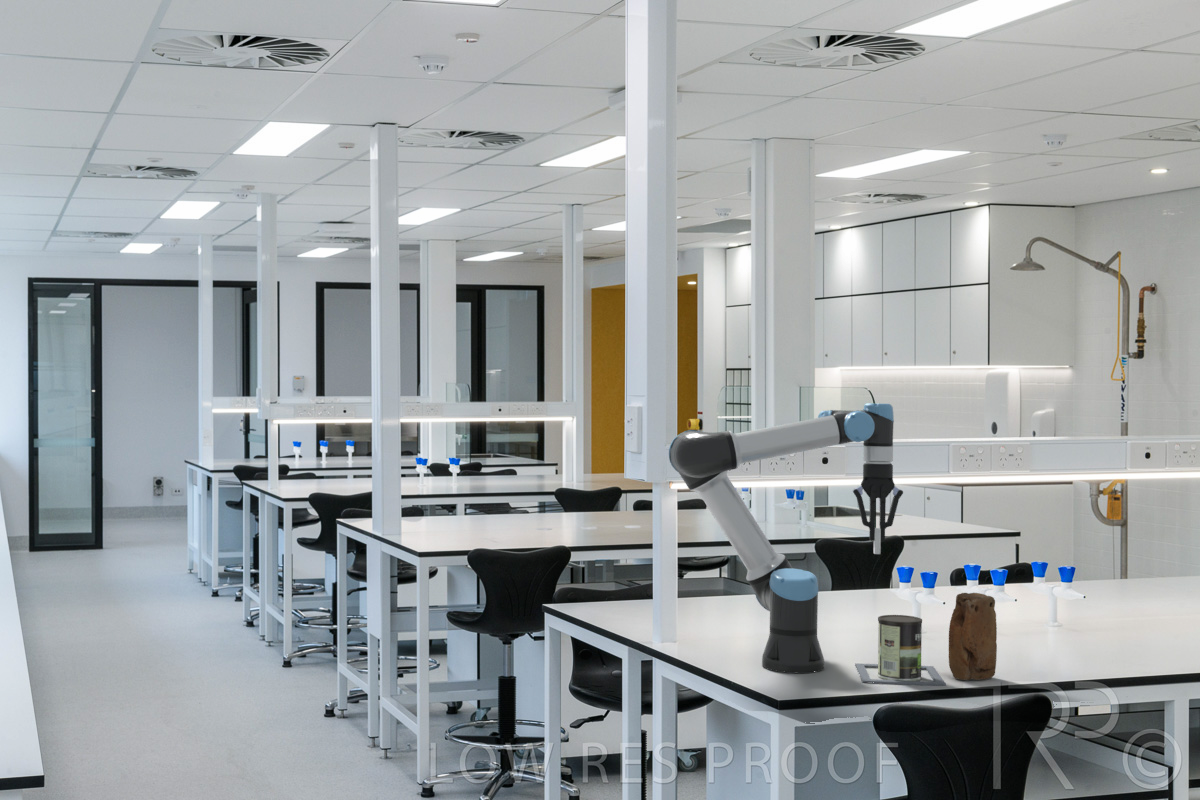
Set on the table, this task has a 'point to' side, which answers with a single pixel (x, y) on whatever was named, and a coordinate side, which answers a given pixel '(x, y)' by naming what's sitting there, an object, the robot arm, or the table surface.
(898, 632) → the coffee can
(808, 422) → the robot arm
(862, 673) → the flat grey frame
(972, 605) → the brown rough upright block
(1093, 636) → the table surface
